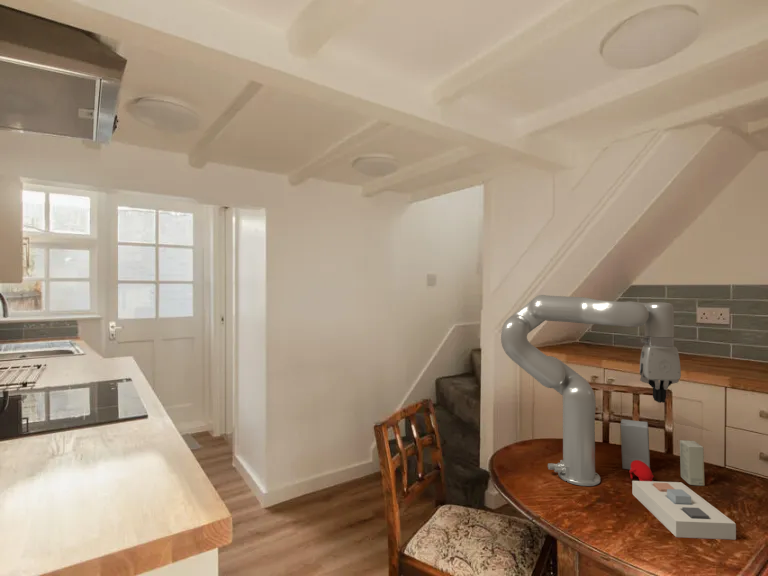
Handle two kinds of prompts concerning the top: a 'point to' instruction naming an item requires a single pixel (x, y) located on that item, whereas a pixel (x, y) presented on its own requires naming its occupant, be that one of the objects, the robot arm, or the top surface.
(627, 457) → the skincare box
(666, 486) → the terracotta button
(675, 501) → the slate button
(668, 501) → the button panel
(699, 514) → the charcoal button
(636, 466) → the cap
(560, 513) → the top surface
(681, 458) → the skincare box
